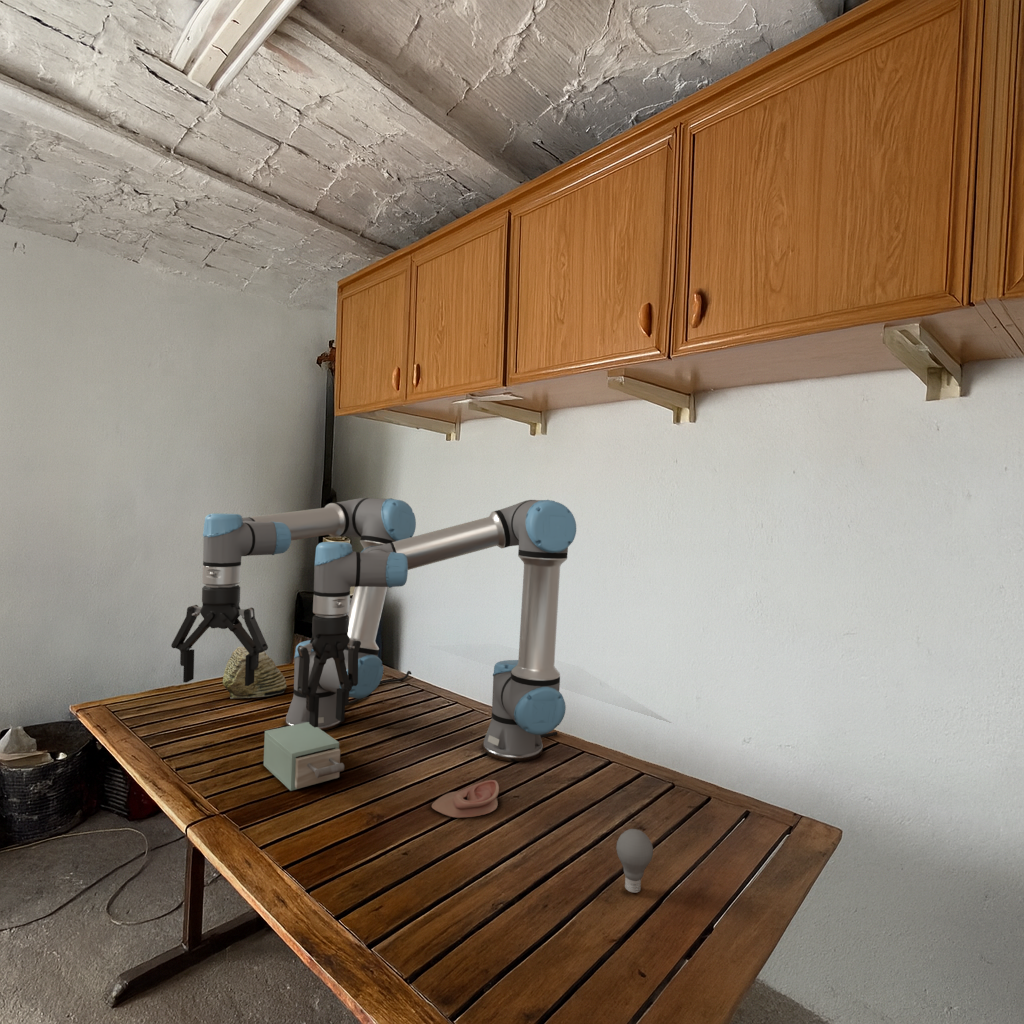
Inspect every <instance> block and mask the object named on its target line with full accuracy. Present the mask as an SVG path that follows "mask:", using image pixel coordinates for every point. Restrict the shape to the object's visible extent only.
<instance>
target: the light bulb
mask: <svg viewBox="0 0 1024 1024" xmlns="http://www.w3.org/2000/svg"><path fill="white" fill-rule="evenodd" d="M615 849H616V854H617V857H618V859H619V861H620V863H621V865H622V867H623V873H624V874H623V875H624V876H625V878H624V888H625V890H627V891H628V892H630V893H634V894H635V893H639V892H640V891H641V889H642V887H641V886H642V879H643V877H644V875H645V871H646V868H647V867H648V866H649V864H650V863H651V861H652V859H653V855H654V847H653V843H652V841H651V838H649V836H648V835H647V834H646V833H645V832H643V831H642V830H641V829H636V828H629V829H627V830H625V831H623V832H622V833H621V834H620V835H619V837H618V839H617V841H616V847H615Z"/></svg>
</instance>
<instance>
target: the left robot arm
mask: <svg viewBox="0 0 1024 1024" xmlns="http://www.w3.org/2000/svg"><path fill="white" fill-rule="evenodd" d="M416 529H417V520H416V515H415V513H414V511H413V508H412V507H411V506H410V504H408V503H407V502H406V501H404V500H401V499H395V498H373V497H358V498H354V499H348V500H343V501H337V502H330V503H327V504H326V505H325V506H324V507H320V508H309V509H303V510H297V511H295V510H294V511H287V512H279V513H278V512H277V513H271V514H270V513H269V514H262V515H253V516H248V517H247V516H246V517H243V516H242V515H241V514H239V513H220V512H219V513H217V512H216V513H215V512H214V513H209V514H207V515H206V516H205V518H204V523H203V530H202V531H203V533H202V537H203V539H202V540H203V541H202V543H203V545H202V546H203V547H202V584H203V586H202V587H201V603H202V605H201V606H199V605H197V604H193V605H190V606H188V607H187V609H186V614H185V618H184V620H183V621H182V624H181V625H180V628H179V629H178V631H177V633H176V635H175V637H174V639H173V641H172V643H171V644H170V647H171V648H172V649H177V650H179V653H180V654H179V655H180V656H179V661H180V662H179V664H180V666H181V667H183V672H182V673H183V676H182V677H183V680H182V682H183V683H189V682H191V681H193V680H194V679H195V678H194V677H195V675H194V673H195V649H192V648H193V646H194V645H195V644H196V643H197V641H198V640H200V638H201V637H202V636H203V635H204V633H206V631H207V630H208V629H209V628H210V629H222V630H226V629H228V630H229V631H230V632H232V633H233V635H234V636H235V637H236V638H237V640H238V641H239V642H240V644H241V645H242V647H245V649H246V650H247V651H248V652H249V654H248V655H246V664H245V686H249V685H251V684H252V683H254V670H255V669H257V668H258V664H259V653H262V652H265V651H267V650H268V649H269V646H268V643H267V640H266V639H265V637H264V635H263V633H262V629H261V628H260V626H259V623H258V622H257V619H256V614H255V613H256V612H255V608H254V607H249V608H241V606H240V603H241V586H240V585H239V584H240V583H241V582H242V571H241V570H242V557H250V556H269V555H270V556H275V555H279V554H280V555H281V554H284V553H286V552H288V550H289V548H290V546H291V544H292V541H297V540H303V539H309V538H315V537H322V536H330V537H331V538H338V537H352V538H359V543H360V544H361V546H362V549H363V550H364V549H365V548H367V547H370V546H380V545H384V544H388V543H392V542H395V541H399V540H403V539H406V538H410V537H414V535H415V533H416ZM387 591H388V587H354V590H353V593H352V596H351V597H352V598H351V600H350V601H351V602H350V606H349V613H347V615H348V616H349V631H348V636H349V638H350V639H355V640H358V641H360V642H361V645H360V648H359V651H358V684H357V685H356V686H353V687H352V690H351V691H349V698H352V699H353V700H349V702H348V704H345V707H347V706H351V705H352V704H355V703H357V702H359V701H362V700H364V699H365V698H367V697H368V696H369V695H371V694H372V693H373V692H375V691H376V690H377V688H378V687H379V686H381V685H383V684H389V683H397V682H401V681H404V680H406V679H407V678H408V677H409V676H410V675H412V672H411V670H407V672H406V674H405V675H404V676H403V677H399V678H392V679H386V680H382V679H383V675H384V665H383V661H382V660H381V658H380V657H379V652H380V648H379V646H378V644H377V642H376V640H377V635H378V630H379V627H380V621H381V617H382V613H383V608H384V605H385V599H386V596H387ZM200 615H201V617H202V618H203V620H202V621H201V622H200V623H199V624H198V626H197V628H196V629H194V631H193V632H192V633H191V634H190V635H189V633H190V631H191V629H192V628H193V626H194V624H195V622H196V620H197V618H198V617H199V616H200ZM240 617H241V618H242V619H243V620H244V623H245V626H246V628H247V630H246V629H245V627H243V623H242V622H241V621H240V619H239V618H240ZM247 631H248V632H249V633H248V632H247ZM310 641H311V639H308V640H304V641H301V642H299V643H298V644H297V645H296V646H295V652H294V656H293V658H294V670H293V671H294V672H293V695H292V696H293V697H292V699H291V702H290V704H289V708H288V711H287V713H286V715H285V727H287V726H292V725H296V724H301V723H306V722H309V716H310V712H309V711H308V710H307V709H306V695H303V694H301V693H300V692H298V690H297V688H298V673H299V658H300V657H299V653H298V650H297V648H298V646H300V645H301V646H304V645H307V644H309V643H310ZM348 649H349V648H348V645H347V646H346V648H345V650H344V651H343V652H344V657H345V660H344V661H345V665H346V670H347V674H348ZM314 656H315V651H314V650H313V649H311V654H310V655H309V657H310V665H309V677H310V674H311V671H312V667H313V664H314ZM308 681H309V680H308ZM338 688H341V687H340V683H339V678H338V674H337V670H336V665H335V661H334V659H333V658H330V659H327V661H326V664H325V665H324V667H323V671H322V674H321V677H320V681H319V684H318V688H317V691H316V694H317V695H318V696H319V715H318V728H319V729H321V730H322V731H324V732H325V731H329V730H332V729H335V728H337V727H339V726H340V725H342V723H343V722H341V721H339V720H338V719H336V695H337V689H338Z"/></svg>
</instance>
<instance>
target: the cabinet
mask: <svg viewBox="0 0 1024 1024" xmlns="http://www.w3.org/2000/svg"><path fill="white" fill-rule="evenodd" d="M337 748H338V749H340V742H339V741H338V740H336V739H335V738H334V737H333V736H331V735H330V734H328V733H327V732H325V731H322V730H321V729H319V728H318V727H315V728H314V727H313V726H312V725H310V724H309V722H306V723H301V724H296V725H292V726H282V727H277V728H273V729H268V730H267V729H266V730H264V743H263V766H264V767H265V768H266V769H267V770H268V771H269V773H271V774H272V775H273V776H274V777H275V778H276V779H277V780H279V781H280V782H281V784H283V785H284V786H285V788H286V789H288V790H289V791H290V792H292V791H296V790H299V789H303V788H304V787H302V788H298V789H297V788H296V787H295V768H296V757H298V756H302V755H306V754H310V753H314V752H318V751H323V750H327V749H331V750H333V749H337ZM336 779H337V778H335V779H334V780H336ZM331 780H333V779H331ZM331 780H327V781H324V782H328V781H331ZM324 782H323V783H324ZM321 783H322V782H320V783H316V784H313V785H312V786H314V785H318V784H321ZM310 786H311V785H309V786H306V787H310ZM306 787H305V788H306Z"/></svg>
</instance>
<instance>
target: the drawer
mask: <svg viewBox="0 0 1024 1024" xmlns="http://www.w3.org/2000/svg"><path fill="white" fill-rule="evenodd" d="M343 771H345V764H344V762H341V749H340V748H339V749H338V748H337V749H333V750H331V749H327V750H323V751H318V752H314V753H310V754H306V755H302V756H298V757H296V768H295V787H296V788H297V789H296V790H299V789H298V788H300V789H303V788H306V786H307V787H310V786H314V785H317V784H316V783H318V784H321V783H324V781H325V782H328V781H327V780H329V781H331V779H332V780H336V779H338V778H340V773H341V772H343ZM335 778H336V779H335ZM320 782H321V783H320ZM313 784H314V785H313ZM309 785H310V786H309ZM302 787H303V788H302Z"/></svg>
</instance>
